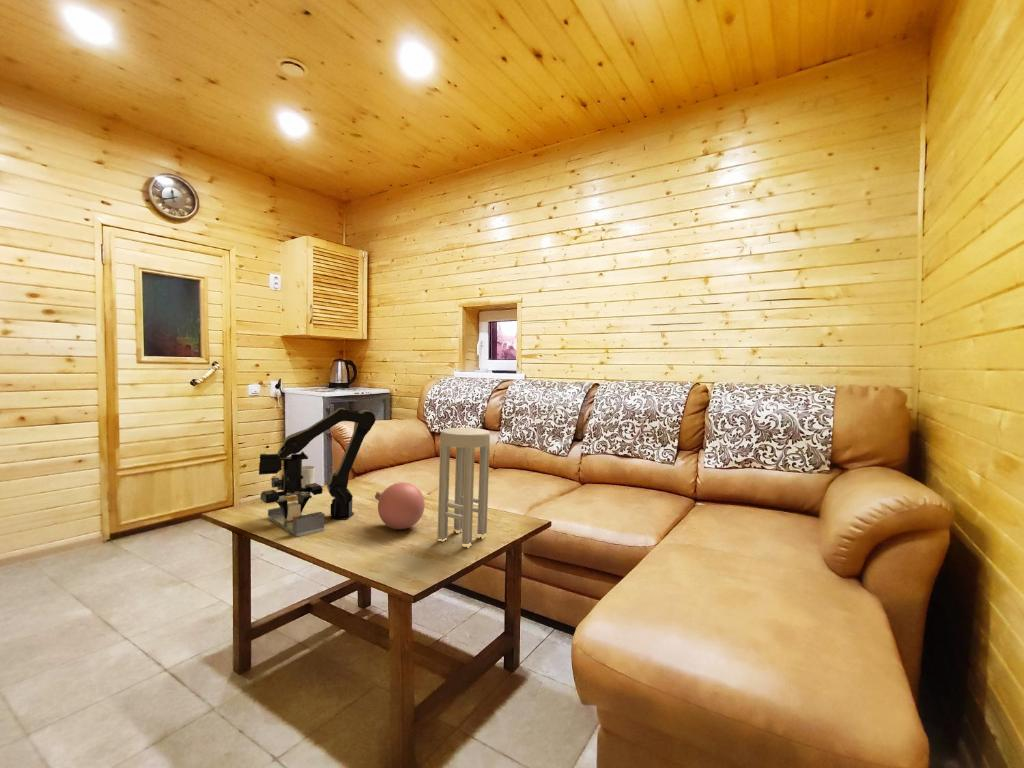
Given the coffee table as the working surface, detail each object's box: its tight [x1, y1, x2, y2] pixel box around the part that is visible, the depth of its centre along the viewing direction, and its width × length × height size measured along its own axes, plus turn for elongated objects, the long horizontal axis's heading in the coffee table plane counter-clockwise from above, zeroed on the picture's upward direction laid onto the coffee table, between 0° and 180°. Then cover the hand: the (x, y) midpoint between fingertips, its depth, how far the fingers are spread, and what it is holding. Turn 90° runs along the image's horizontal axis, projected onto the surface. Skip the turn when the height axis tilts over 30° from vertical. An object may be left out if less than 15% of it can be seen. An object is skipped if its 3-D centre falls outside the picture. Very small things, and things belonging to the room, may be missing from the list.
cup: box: [295, 465, 316, 500], centre depth 192 cm, size 8×8×12 cm
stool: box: [437, 427, 491, 544], centre depth 152 cm, size 16×16×35 cm
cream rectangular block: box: [286, 501, 302, 521], centre depth 161 cm, size 9×4×5 cm, turn 47°
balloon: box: [374, 481, 426, 530], centre depth 162 cm, size 15×20×15 cm
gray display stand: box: [267, 506, 325, 538], centre depth 161 cm, size 24×9×6 cm, turn 47°
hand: (292, 517), depth 163 cm, fingers closed on cream rectangular block, 4 cm apart
